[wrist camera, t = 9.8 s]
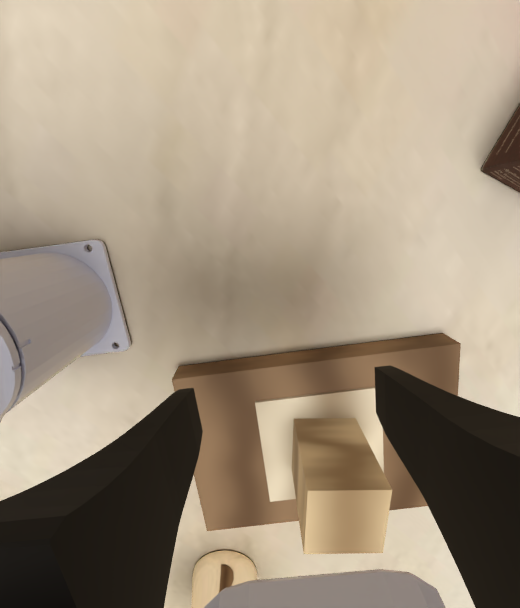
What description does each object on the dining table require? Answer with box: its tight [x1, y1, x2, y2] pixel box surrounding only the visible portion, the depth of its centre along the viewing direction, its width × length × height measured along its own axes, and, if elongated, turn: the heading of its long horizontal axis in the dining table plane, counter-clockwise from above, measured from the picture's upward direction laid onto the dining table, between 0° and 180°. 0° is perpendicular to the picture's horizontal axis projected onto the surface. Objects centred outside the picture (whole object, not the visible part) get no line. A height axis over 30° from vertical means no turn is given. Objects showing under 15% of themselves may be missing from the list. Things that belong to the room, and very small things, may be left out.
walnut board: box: [172, 333, 460, 531], centre depth 23 cm, size 20×14×2 cm
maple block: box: [292, 418, 392, 554], centre depth 19 cm, size 4×4×6 cm
